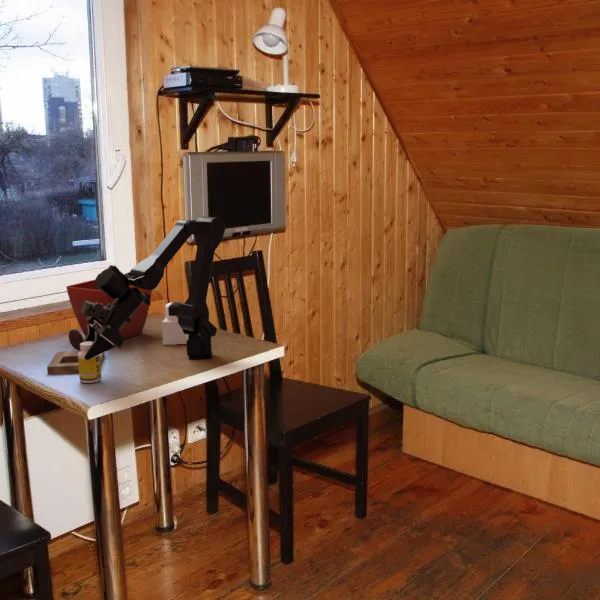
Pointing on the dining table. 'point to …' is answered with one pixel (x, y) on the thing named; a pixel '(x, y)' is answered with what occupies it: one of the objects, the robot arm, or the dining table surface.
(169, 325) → the medicine bottle
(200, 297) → the robot arm
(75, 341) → the compass
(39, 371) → the dining table surface
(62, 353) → the socket board
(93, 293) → the plant pot
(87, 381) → the supplement bottle
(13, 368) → the dining table surface
